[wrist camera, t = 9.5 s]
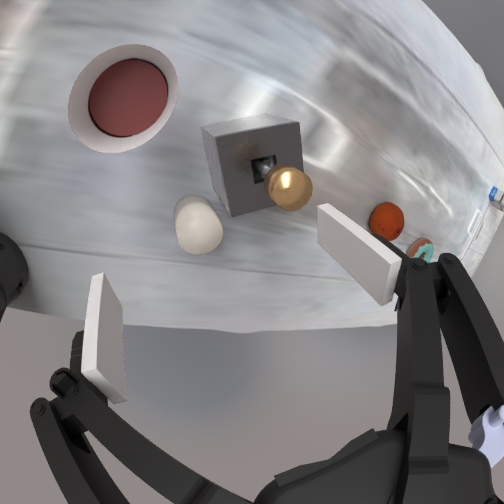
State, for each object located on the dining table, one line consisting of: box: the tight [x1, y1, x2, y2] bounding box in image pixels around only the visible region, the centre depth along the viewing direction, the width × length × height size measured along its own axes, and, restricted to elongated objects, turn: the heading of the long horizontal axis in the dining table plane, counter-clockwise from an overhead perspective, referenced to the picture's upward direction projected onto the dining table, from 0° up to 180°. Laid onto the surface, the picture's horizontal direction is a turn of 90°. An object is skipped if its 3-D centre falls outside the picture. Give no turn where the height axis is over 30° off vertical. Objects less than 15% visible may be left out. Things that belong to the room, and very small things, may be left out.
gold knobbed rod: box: [251, 157, 313, 211], centre depth 37 cm, size 7×7×19 cm
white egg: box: [173, 195, 223, 255], centre depth 46 cm, size 7×7×8 cm
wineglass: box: [68, 44, 178, 153], centre depth 27 cm, size 9×10×22 cm
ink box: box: [489, 187, 504, 212], centre depth 75 cm, size 9×5×12 cm, turn 56°
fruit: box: [370, 202, 404, 241], centre depth 60 cm, size 9×9×8 cm
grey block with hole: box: [201, 114, 304, 217], centre depth 41 cm, size 11×11×12 cm
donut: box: [406, 238, 433, 263], centre depth 75 cm, size 12×12×4 cm
